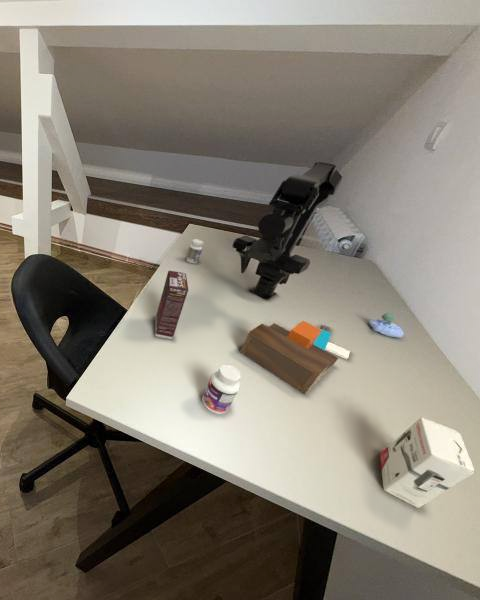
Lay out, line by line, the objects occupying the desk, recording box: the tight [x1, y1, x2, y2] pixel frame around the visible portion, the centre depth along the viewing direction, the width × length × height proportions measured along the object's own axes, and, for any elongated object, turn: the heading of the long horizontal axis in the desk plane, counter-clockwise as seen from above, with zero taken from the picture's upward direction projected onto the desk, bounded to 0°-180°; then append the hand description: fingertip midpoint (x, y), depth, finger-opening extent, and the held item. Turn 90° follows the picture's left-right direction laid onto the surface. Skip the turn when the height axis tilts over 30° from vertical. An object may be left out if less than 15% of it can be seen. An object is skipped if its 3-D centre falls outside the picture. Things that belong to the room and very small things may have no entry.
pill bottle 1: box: [185, 238, 204, 264], centre depth 121 cm, size 5×5×8 cm
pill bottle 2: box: [201, 364, 242, 415], centre depth 63 cm, size 5×5×10 cm
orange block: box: [287, 320, 322, 349], centre depth 78 cm, size 7×4×5 cm, turn 126°
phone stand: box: [314, 325, 351, 360], centre depth 84 cm, size 20×12×2 cm, turn 136°
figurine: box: [369, 312, 404, 339], centre depth 91 cm, size 8×7×7 cm
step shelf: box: [239, 323, 339, 395], centre depth 77 cm, size 16×16×7 cm
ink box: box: [379, 416, 475, 509], centre depth 52 cm, size 9×5×12 cm, turn 145°
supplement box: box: [154, 270, 189, 340], centre depth 81 cm, size 9×5×16 cm, turn 168°
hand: (257, 279), depth 90 cm, fingers open, 9 cm apart
